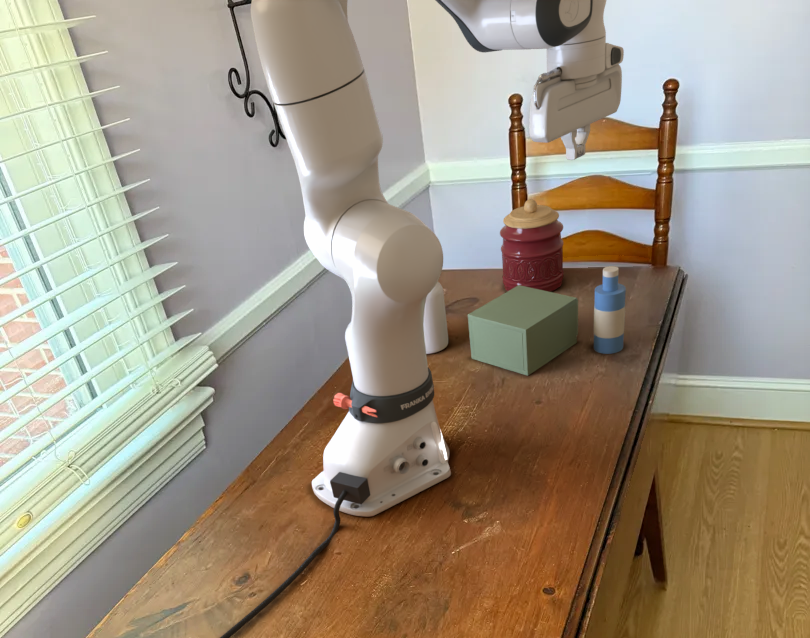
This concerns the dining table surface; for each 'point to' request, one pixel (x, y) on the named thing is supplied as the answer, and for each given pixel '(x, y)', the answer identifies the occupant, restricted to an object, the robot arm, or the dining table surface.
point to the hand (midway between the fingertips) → (575, 157)
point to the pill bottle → (435, 321)
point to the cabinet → (523, 329)
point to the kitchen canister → (532, 248)
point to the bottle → (609, 313)
